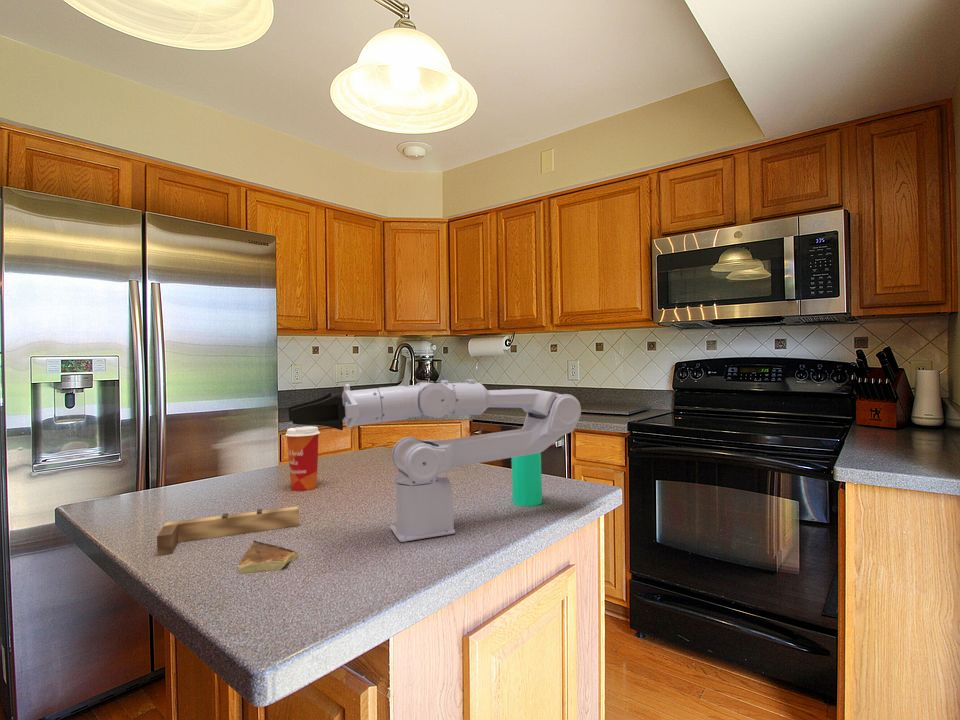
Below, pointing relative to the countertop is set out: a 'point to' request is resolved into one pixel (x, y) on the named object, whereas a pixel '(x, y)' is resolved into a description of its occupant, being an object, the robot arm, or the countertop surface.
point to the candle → (527, 480)
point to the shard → (265, 558)
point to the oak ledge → (224, 526)
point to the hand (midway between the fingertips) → (290, 415)
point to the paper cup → (303, 457)
